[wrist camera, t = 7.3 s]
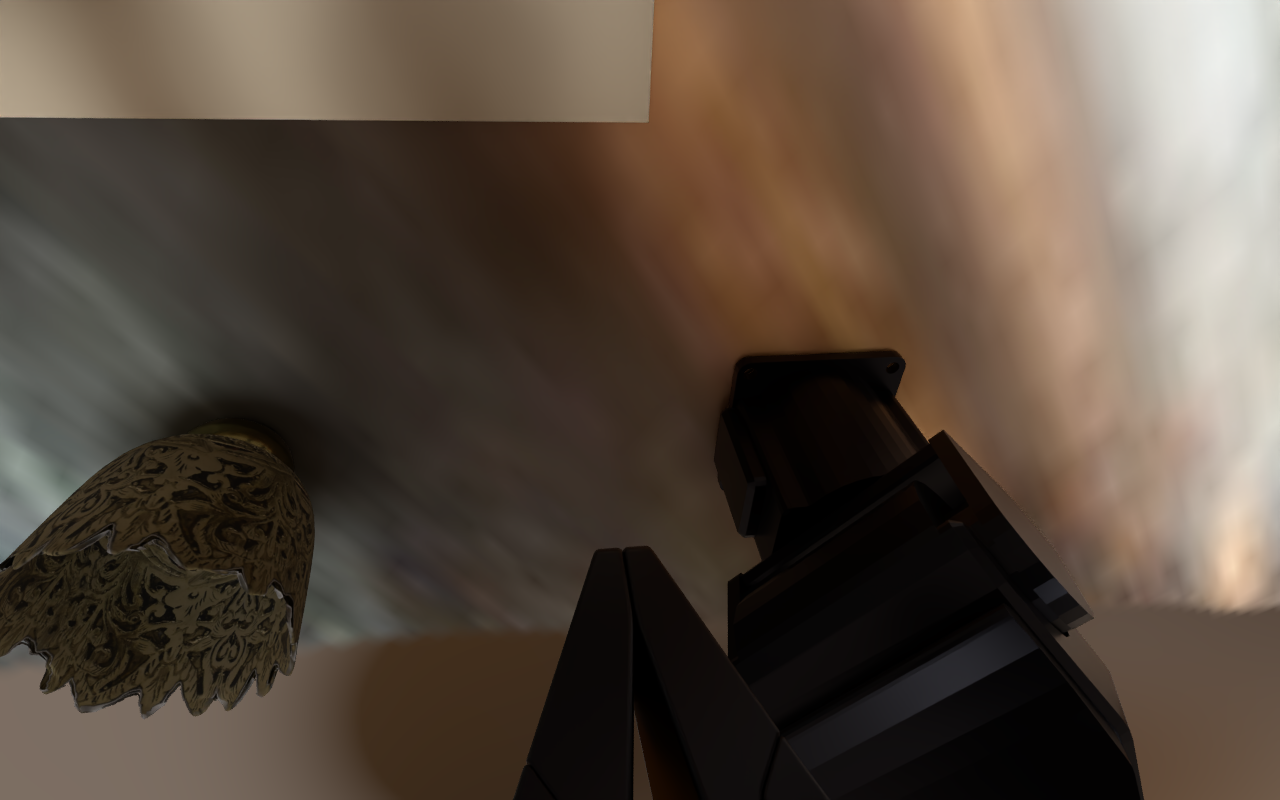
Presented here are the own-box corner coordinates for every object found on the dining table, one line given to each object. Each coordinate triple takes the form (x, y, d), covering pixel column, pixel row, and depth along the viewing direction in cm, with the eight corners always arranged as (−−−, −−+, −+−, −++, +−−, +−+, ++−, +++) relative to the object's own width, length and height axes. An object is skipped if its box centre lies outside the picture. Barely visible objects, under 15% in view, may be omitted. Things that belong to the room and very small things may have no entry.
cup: (71, 387, 21) (-124, 594, 15) (296, 342, 21) (197, 529, 15) (200, 536, 26) (93, 742, 19) (385, 498, 26) (338, 691, 20)
